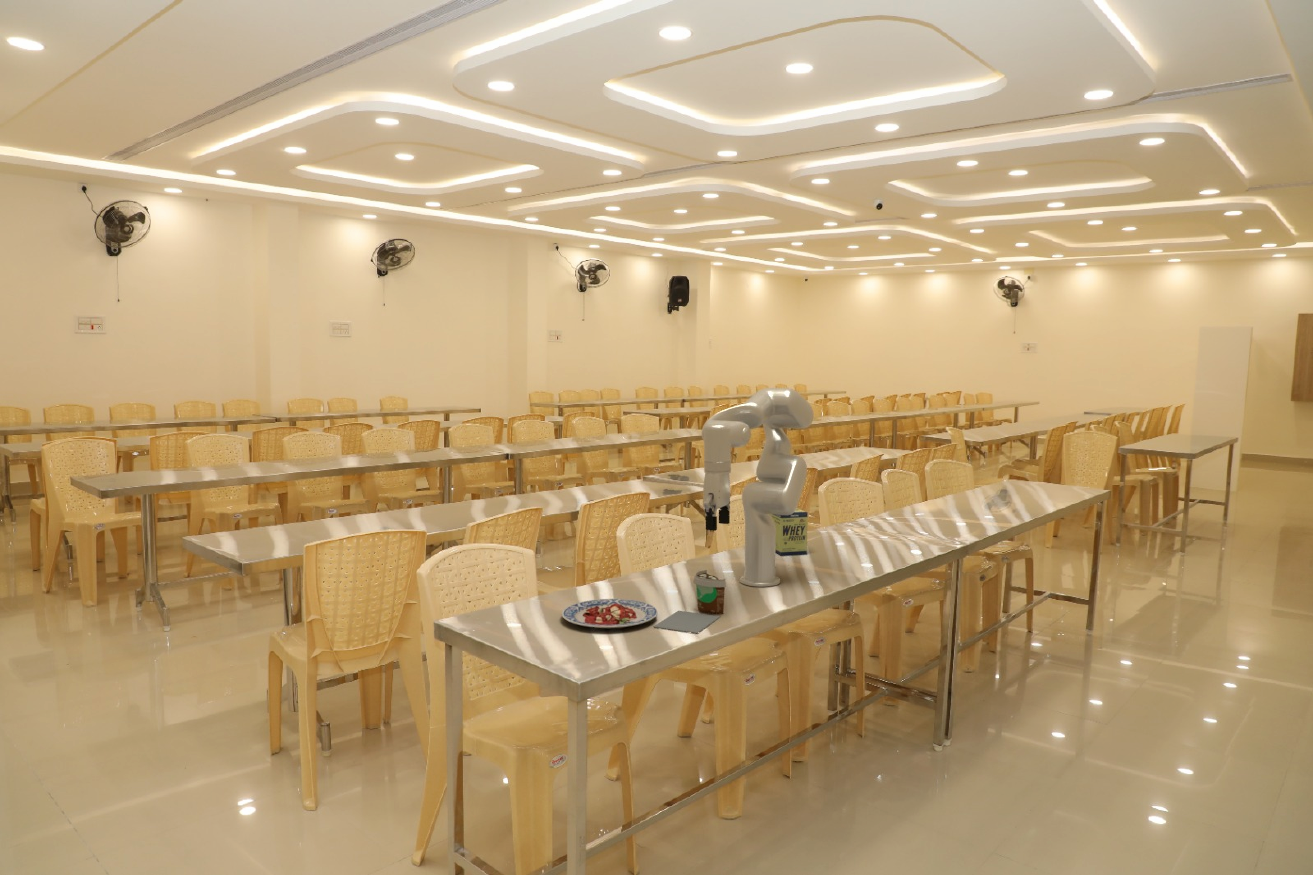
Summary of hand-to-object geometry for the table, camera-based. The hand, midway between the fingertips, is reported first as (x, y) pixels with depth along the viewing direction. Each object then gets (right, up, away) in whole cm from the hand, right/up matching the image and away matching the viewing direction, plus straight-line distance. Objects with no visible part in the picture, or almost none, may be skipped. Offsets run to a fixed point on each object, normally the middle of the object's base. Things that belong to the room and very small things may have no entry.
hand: (717, 526), depth 243 cm
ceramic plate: (-30, -24, -13) cm, 41 cm away
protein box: (+30, -17, +70) cm, 78 cm away
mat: (-9, -24, -16) cm, 30 cm away
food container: (-4, -23, -6) cm, 24 cm away
